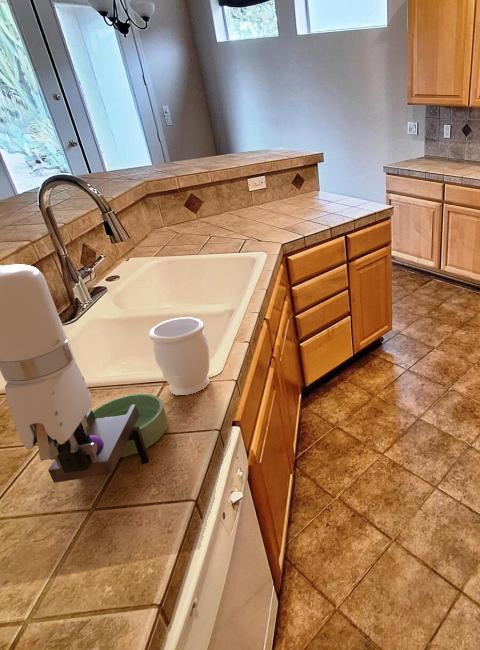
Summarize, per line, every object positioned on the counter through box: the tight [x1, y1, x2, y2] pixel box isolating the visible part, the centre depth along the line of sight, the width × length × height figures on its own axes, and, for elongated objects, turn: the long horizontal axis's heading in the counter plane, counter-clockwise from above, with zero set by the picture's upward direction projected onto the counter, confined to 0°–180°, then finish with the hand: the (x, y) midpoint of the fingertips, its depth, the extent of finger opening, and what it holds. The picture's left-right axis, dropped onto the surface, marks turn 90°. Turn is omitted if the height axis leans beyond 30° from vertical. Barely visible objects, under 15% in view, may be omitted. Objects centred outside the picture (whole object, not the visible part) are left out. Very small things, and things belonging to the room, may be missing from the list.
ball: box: [90, 435, 104, 456], centre depth 67 cm, size 4×4×4 cm
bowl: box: [92, 392, 169, 458], centre depth 81 cm, size 13×13×5 cm
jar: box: [148, 316, 211, 396], centre depth 94 cm, size 11×10×15 cm
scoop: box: [47, 405, 139, 484], centre depth 70 cm, size 8×14×6 cm, turn 13°
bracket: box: [128, 426, 150, 465], centre depth 74 cm, size 11×1×8 cm, turn 103°
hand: (81, 463), depth 64 cm, fingers closed on scoop
